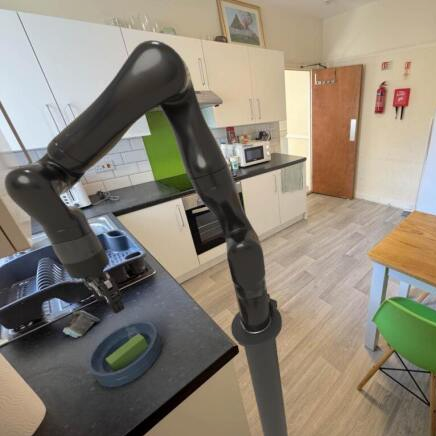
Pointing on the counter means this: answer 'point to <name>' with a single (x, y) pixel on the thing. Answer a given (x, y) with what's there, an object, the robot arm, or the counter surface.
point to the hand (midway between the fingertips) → (111, 304)
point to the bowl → (113, 343)
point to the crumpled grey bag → (80, 323)
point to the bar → (127, 352)
